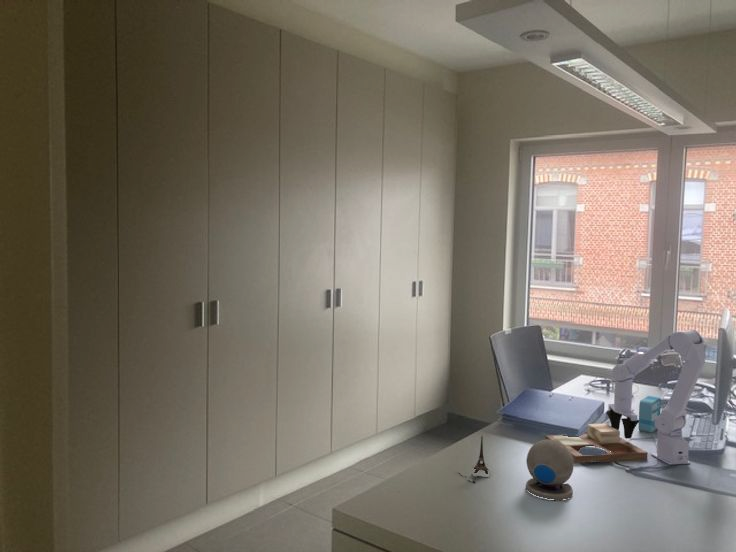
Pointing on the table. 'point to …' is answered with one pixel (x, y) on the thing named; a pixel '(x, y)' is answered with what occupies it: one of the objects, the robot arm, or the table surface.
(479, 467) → the eiffel tower figurine
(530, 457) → the webcam
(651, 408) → the data package
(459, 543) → the table surface
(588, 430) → the birch block
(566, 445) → the trap deck
